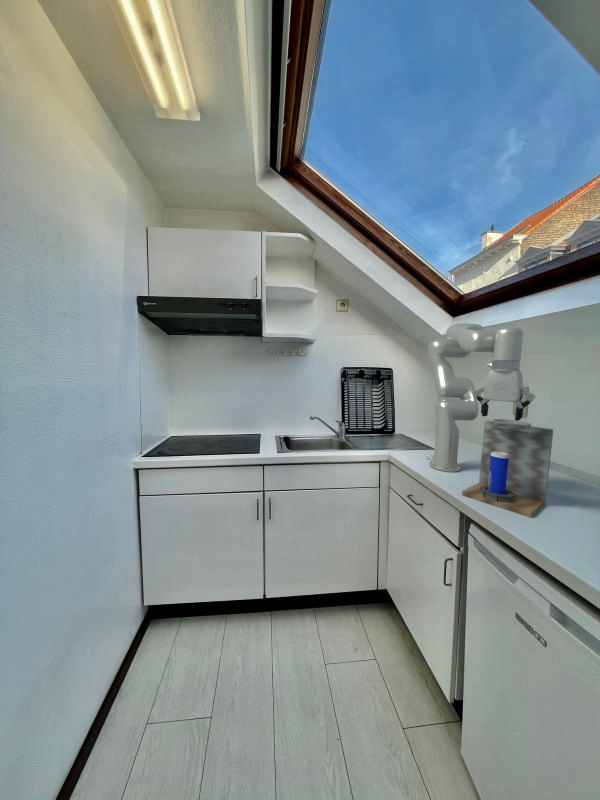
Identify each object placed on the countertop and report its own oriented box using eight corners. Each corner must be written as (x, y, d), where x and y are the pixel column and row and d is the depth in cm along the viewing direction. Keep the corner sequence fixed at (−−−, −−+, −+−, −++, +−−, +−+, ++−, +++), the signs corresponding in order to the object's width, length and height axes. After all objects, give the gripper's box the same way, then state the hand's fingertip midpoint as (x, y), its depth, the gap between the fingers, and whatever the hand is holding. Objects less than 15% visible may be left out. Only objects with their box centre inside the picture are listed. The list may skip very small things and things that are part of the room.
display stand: (461, 495, 107) (467, 424, 104) (480, 485, 117) (486, 420, 114) (530, 517, 91) (539, 434, 89) (545, 504, 101) (553, 429, 99)
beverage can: (488, 491, 107) (491, 450, 105) (505, 496, 103) (509, 453, 102) (485, 496, 103) (489, 453, 101) (504, 500, 99) (508, 456, 98)
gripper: (472, 366, 104) (468, 415, 105) (534, 366, 90) (528, 423, 92) (481, 366, 108) (477, 413, 110) (541, 367, 95) (535, 421, 97)
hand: (500, 418), depth 101 cm, fingers open, 9 cm apart
